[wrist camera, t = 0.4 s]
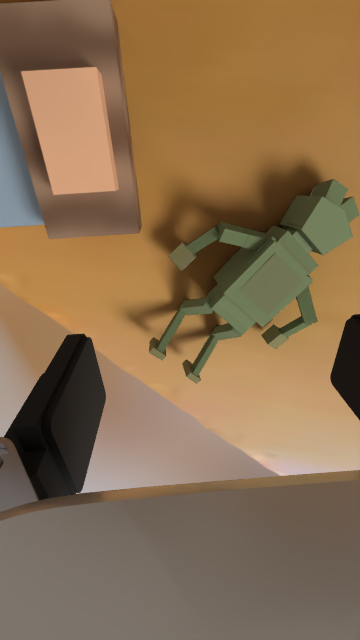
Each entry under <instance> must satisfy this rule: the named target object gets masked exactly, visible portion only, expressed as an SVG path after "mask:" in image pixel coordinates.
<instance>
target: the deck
mask: <svg viewBox="0 0 360 640" xmlns="http://www.w3.org/2000/svg"><path fill="white" fill-rule="evenodd" d="M85 67H97V69H98V70H99V72H100V73H101V75H102V82H103V89H104V95H105V102H106V108H107V115H108V121H109V128H110V135H111V141H112V148H113V154H114V161H115V168H116V174H117V181H118V187H119V189H118V190H116V191H106V192H90V193H75V194H59V195H53V191H52V188H51V184H50V180H49V176H48V172H47V169H46V165H45V161H44V157H43V153H42V150H41V146H40V142H39V138H38V134H37V130H36V127H35V123H34V119H33V115H32V111H31V108H30V104H29V100H28V96H27V92H26V89H25V85H24V81H23V77H22V73H21V71H35V70H52V69H69V68H85ZM0 73H1V76H2V79H3V83H4V86H5V90H6V93H7V97H8V100H9V103H10V107H11V110H12V114H13V117H14V121H15V124H16V127H17V131H18V134H19V138H20V141H21V145H22V148H23V151H24V155H25V158H26V162H27V165H28V169H29V172H30V175H31V179H32V182H33V186H34V189H35V193H36V196H37V199H38V203H39V206H40V210H41V213H42V217H43V220H44V223H45V227H46V230H47V234H48V237H49V239H59V238H74V237H89V236H104V235H119V234H134V233H139V232H140V230H141V227H142V223H141V215H140V207H139V199H138V190H137V182H136V174H135V165H134V157H133V149H132V141H131V132H130V124H129V116H128V107H127V99H126V91H125V83H124V74H123V66H122V58H121V49H120V41H119V33H118V25H117V20H116V17H115V14H114V11H113V8H112V5H111V2H110V0H54V1H36V2H19V3H1V4H0Z"/></svg>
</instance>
